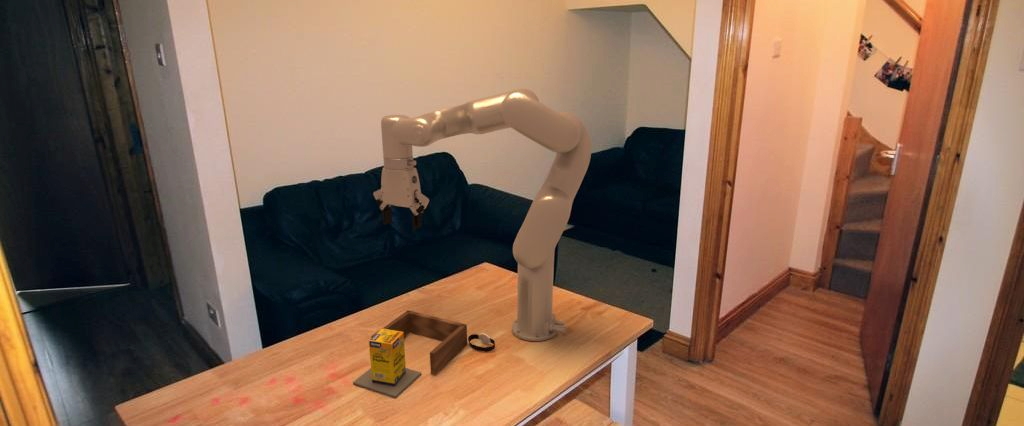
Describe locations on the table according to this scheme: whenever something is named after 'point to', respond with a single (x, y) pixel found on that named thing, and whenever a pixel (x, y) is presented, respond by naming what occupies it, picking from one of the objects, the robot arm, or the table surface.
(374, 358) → the supplement box
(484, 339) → the watch
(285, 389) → the table surface
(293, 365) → the table surface
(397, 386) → the mat
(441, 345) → the open box
